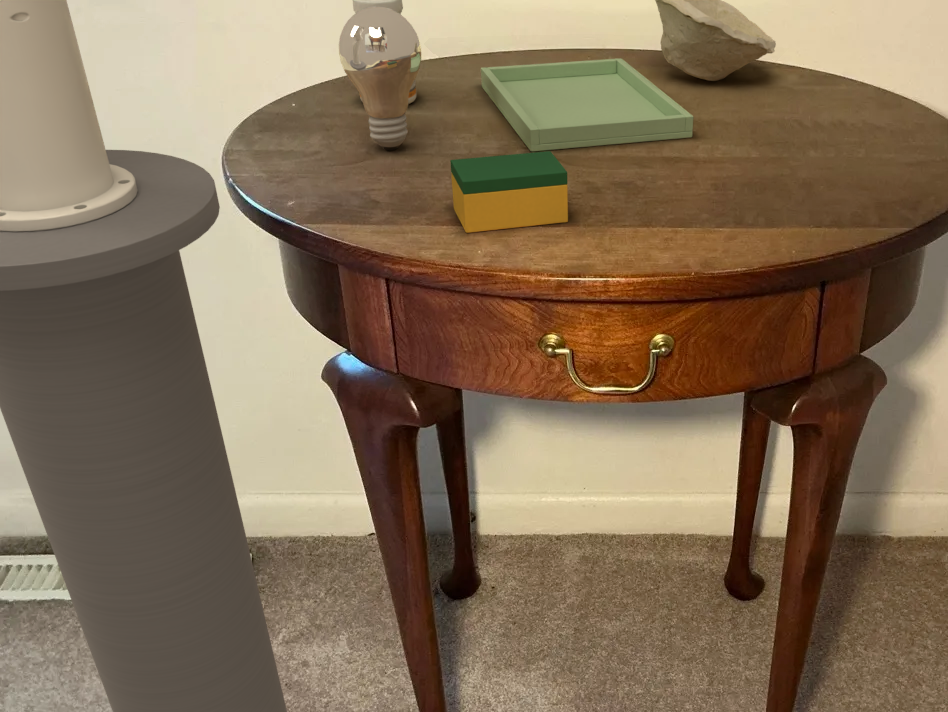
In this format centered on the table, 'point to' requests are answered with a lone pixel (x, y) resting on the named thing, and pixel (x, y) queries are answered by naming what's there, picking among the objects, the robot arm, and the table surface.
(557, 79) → the tray
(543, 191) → the sponge
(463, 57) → the table surface
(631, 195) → the table surface
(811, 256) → the table surface
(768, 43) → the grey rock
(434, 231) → the table surface
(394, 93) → the light bulb
